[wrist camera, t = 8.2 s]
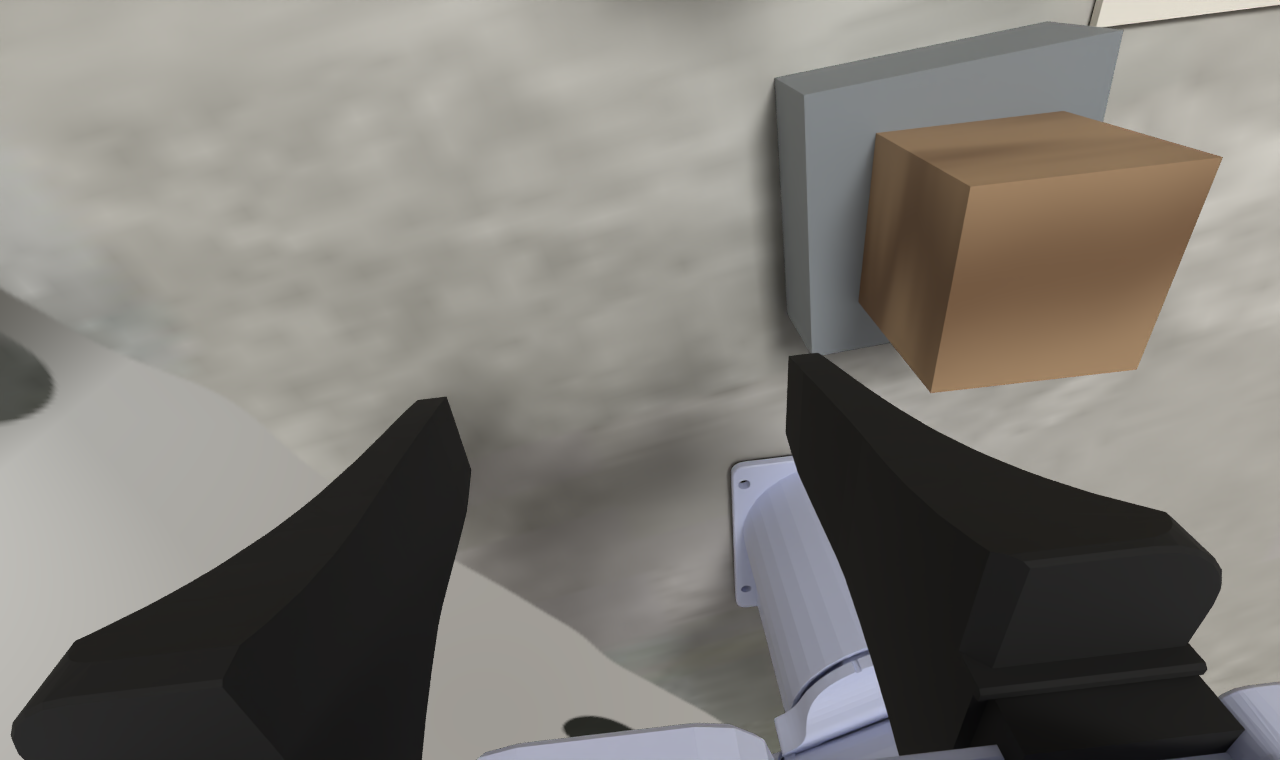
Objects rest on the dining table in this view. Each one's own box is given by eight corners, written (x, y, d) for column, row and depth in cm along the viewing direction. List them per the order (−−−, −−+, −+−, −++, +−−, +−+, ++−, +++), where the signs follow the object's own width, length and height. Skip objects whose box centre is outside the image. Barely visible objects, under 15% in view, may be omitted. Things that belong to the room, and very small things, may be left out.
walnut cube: (1019, 283, 19) (1136, 369, 15) (858, 301, 19) (931, 393, 15) (1063, 111, 16) (1223, 157, 12) (876, 133, 16) (970, 186, 12)
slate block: (1001, 268, 23) (1060, 311, 20) (784, 308, 23) (812, 357, 20) (1039, 20, 18) (1123, 29, 15) (771, 75, 19) (803, 95, 16)
